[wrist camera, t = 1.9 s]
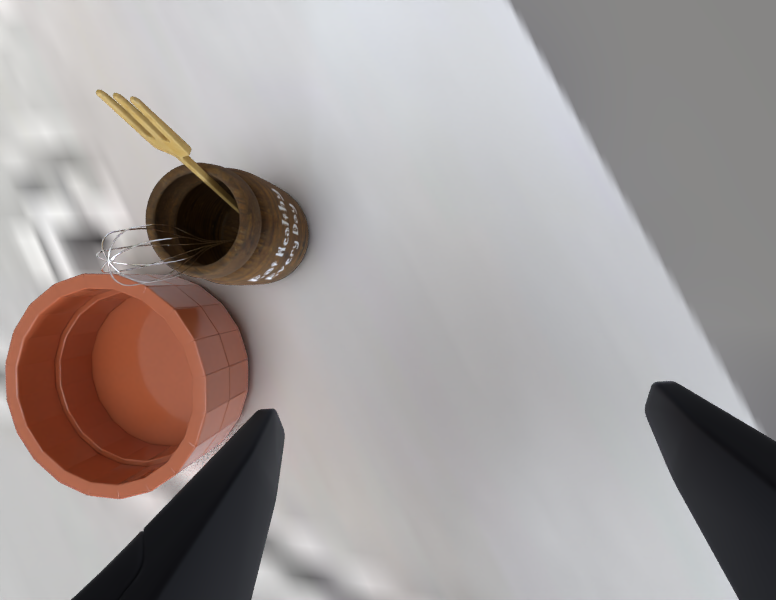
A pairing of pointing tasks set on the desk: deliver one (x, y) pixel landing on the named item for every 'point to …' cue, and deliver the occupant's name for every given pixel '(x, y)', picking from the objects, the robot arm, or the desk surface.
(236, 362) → the pot
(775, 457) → the robot arm
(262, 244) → the utensil holder
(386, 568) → the desk surface
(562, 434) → the desk surface
